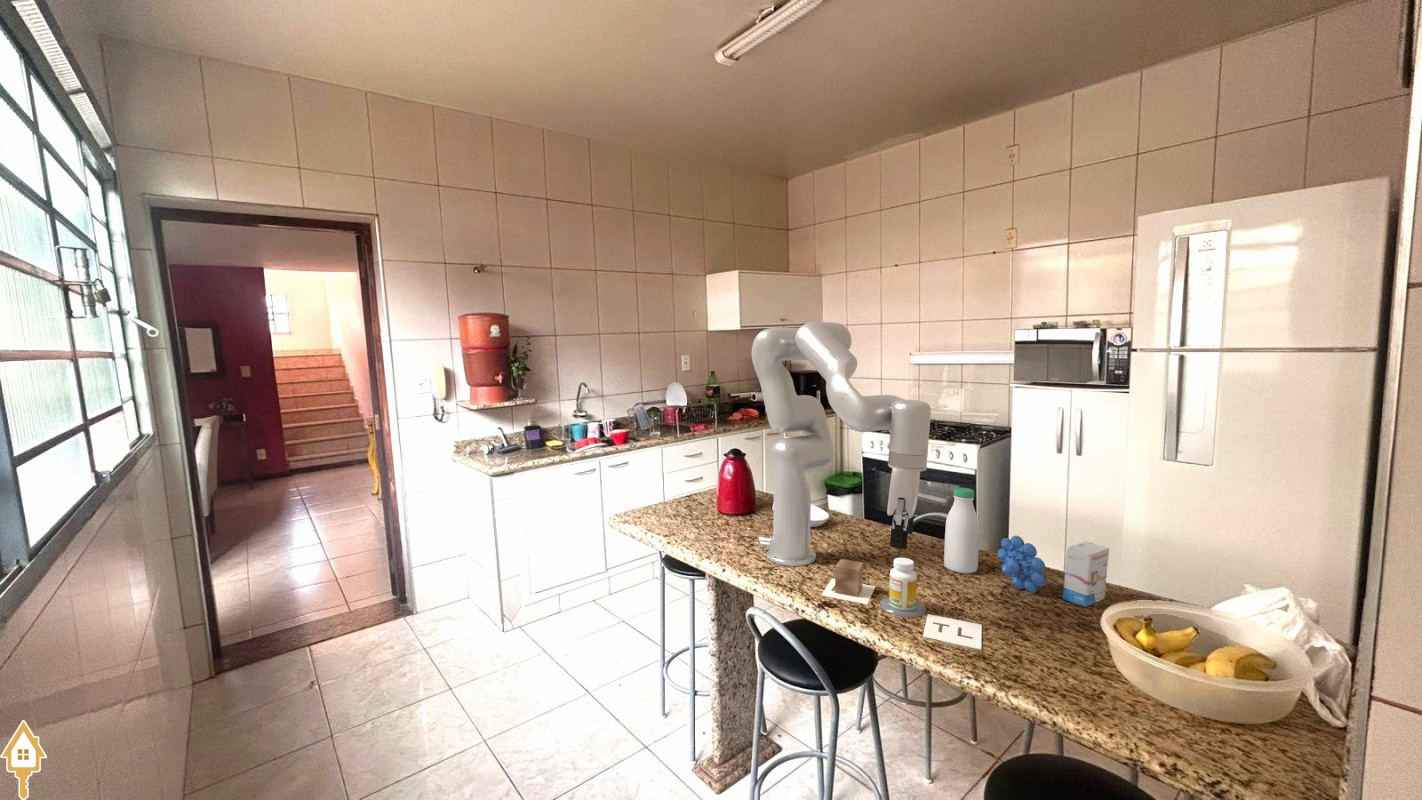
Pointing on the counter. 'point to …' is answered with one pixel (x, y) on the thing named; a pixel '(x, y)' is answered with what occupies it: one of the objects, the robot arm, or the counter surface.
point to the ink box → (1085, 573)
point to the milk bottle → (962, 534)
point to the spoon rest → (816, 516)
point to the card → (953, 631)
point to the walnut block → (848, 577)
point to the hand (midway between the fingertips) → (901, 540)
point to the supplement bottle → (903, 585)
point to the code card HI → (862, 597)
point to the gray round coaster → (916, 612)
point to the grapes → (1022, 564)
